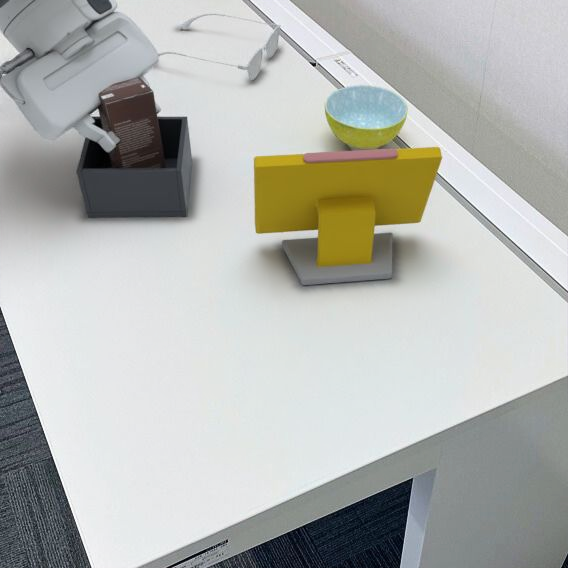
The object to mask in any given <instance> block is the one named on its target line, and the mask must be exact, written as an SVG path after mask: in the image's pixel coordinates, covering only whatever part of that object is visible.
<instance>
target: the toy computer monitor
mask: <svg viewBox="0 0 568 568" xmlns="http://www.w3.org/2000/svg"><path fill="white" fill-rule="evenodd" d="M442 160H443V155H442V151H441V148H440V147H439V146H428V147H410V148H409V147H408V148H378V149H375V150H356V151H353V150H339V151H337V150H336V151H323V152H322V151H320V152H319V151H318V152H306V153H297V154H296V153H295V154H293V153H292V154H277V155H258V156H257V155H256V156H254V157H253V181H254V183H253V190H254V193H253V194H254V230H255V234H259V235H260V234H275V233H276V234H277V233H290V232H304V231H305V232H306V231H317V237H308V238H293V239H292V238H291V239H283V240H281V246H282V249H283V251H284V253H285V254H286V256H287V258H288V261H289V263H290V264H291V266H292V268H293V270H294V272H295V274H296V276H297V277H298V280H299V281H300V284H301V285H303V286H309V285H323V284H334V283H335V284H336V283H347V282H348V283H349V282H360V281H361V282H363V281H372V280H373V281H375V280H387V279H388V280H389V279H392V277H393V237H394V236H393V233H392V232H379V233H375V227H379V226H392V225H408V224H419V223H421V221H422V218H423V216H424V213H425V209H426V206H427V204H428V200H429V198H430V195H431V193H432V190H433V186H434V183H435V180H436V177H437V175H438V172H439V168H440V165H441V163H442Z"/></svg>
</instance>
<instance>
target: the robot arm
mask: <svg viewBox="0 0 568 568" xmlns="http://www.w3.org/2000/svg"><path fill="white" fill-rule="evenodd" d="M118 6H119V5H118V1H117V0H0V32H1V34H2V36H4V38H5V39H6V40H7V41H8V42H9V43H10V44H11V46H12V47H13V48H14V49H15V50H16V51H17V53H18V54H17V55H16V56H14V57H13V58H12V59H10V60H6V61H4V62H3V63H2V64H1V65H0V87H1V88H2V90H3V91H4V92H5V93H6V94H7V95H8V96H9V97H10V99H12V100H13V102H14V104H15V105H16V106H17V108H18V109H19V111H20V112H21V114H22V115H23V117H24V118H25V120H26V121H27V122H28V123H29V125H30V126H31V127H32V128H33V130H34V131H35V132H36V133H37V134H38V136H39V137H41V138H42V139H44V140H48V141H51V142H55V141H56V140H57V139H59V138H60V137H61V136H63V135H64V134H66V133H67V132H68V131H70V130H72V129H73V128H74V130H75V131H76V132H77V133H78V134H79V135H80V136H82V137H84V138H85V137H86V138H88V139H91V140H93V141H95V142H98V143H99V144H100V145H101V147H102V148H103V149H104V150H105V151H106V152H110V151H112V150H113V149H114V148H115V147H116V146H118V145H119V144H120V143H121V141H120V139H119V138H118V137H117V136H116V134H115V133H114V132H113V131H112V130H110V131H109V132H106V131H104V130H102V129H100V128H99V127H97V126H95V125H93V123H94V122H95V120H94V119H93V118H92V117H91V116H92V114H93V113H94V112H96V111H97V110H98V106H99V105H100V104H101V101H100V98H99V95H98V94H99V93H100V92H101V91H103V90H104V89H106V88H107V87H109V86H111V85H112V84H114V83H118V82H122V81H126V80H129V79H133V78H137V77H140V78H141V79H142V80H143V81H144V82H145V83H146V84H147V85H148V86H149V87H150V88H151V86H150V83H149V81H148V80H147V78H146V77H145V76H146V75H147V74H148V73H150V71H151V70H152V69H153V68H155V66H156V65H157V64H158V63H160V62H159V61H160V60H159V59H160V56H159V57H158V54H159V53H158V50H157V49H156V47H155V45H154V44H153V43H152V41H151V40H150V38H148V36H147V35H146V34H145V32H144V31H143V30H142V29H141V28H140V27H139V26H138V25H137V23H136V22H135V21H134V20H133V19H132V18H131V17H129V16H128V15H127V14H125V13H124V12H122V11H116V10H117V8H118ZM155 105H156V111H157V115H158V114H159V113H160V112H161V111H162V109H161V107H160V105H159V104H158V103H157V102H156V101H155Z"/></svg>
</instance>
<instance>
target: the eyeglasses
mask: <svg viewBox="0 0 568 568" xmlns="http://www.w3.org/2000/svg"><path fill="white" fill-rule="evenodd" d="M206 16H219V17H227V18H235V19H239V20H243V21H244V20H245V21H248V22H255V23H259V24H263V25H268V26H271V27H272V28H274V29H273V30H272V32H271V33H270V35H268V38H266V42H265V43H264V44H263V45H262V46H261V47H260V48H258V49H257V50H256V51H255V52H254V54H253V55H252V56H251V57H250V59H249V60H248V61H247V64H245V65H242V64H237V65H236V64H231V63H230V64H229V63H224V62H218V61H213V60H210V59H209V60H208V59H204V58H199V57H195V56H191V55H187V54H183V53H180V52H176V51H164V52H159V53H158V57H159V58H160V57H161V56H164V55H169V54H171V55H177V56H178V55H179V56H182V57H188V58H192V59H195V60H196V59H197V60H200V61H206V62H210V63H215V64H221V65H226V66H231V67H236V68H237V69H239V70H242V71H243V70H244V71H247V75H248V77H249V80H251V81H254V80H256V78H257V77H258V75H259V73H260V71H261V68H262V62H263V53H264V51H265V53H266V55H267V58H268V59H270V58H272V57H274V56H275V54H276V52H277V49H278V44H279V39H280V30H281V25H282V24H277V23H272V24H270V23H266V22H262V21H257V20H252V19H247V18H242V17H238V16H237V17H236V16H232V15H226V14H222V13H204V14H200V15H196V16H194V17H192V18H190V19H188V20H186V21H184V22H183V23H182V24H180V26H179V29H180V30H187V29H189V28H190V26H191V25H192V23H193V22H195V21H196V20H198V19H200V18H203V17H206Z"/></svg>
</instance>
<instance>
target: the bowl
mask: <svg viewBox="0 0 568 568" xmlns="http://www.w3.org/2000/svg"><path fill="white" fill-rule="evenodd" d="M408 109H409V108H408V104H407V102H406V101H405V100H404V99H403V97H402V96H400V95H399V94H397V93H396V92H395V91H393V90H390V89H388V88H385V87H381V86H377V85H370V84H355V85H349V86H344V87H341V88H339V89H337V90H335V91H333V92H332V93H330V94H328V96H327V98H326V99H325V102H324V114H325V118H326V121H327V124H328V126H329V128H330V130H331V132H332V133H333V134H334V135H335V136H336V137H337V138H338V140H339V141H341V142H342V143H344V144H345V145H348V148H349V149H350V150H351V151H356V150H375V149H380V147H383V146H385V145H387V144H389V143H390V142H391V141H393V140H394V139H395V138H396V137H397V136H398V135H399V134H400V132H401V130H402V129H403V127H404V125H405V123H406V119H407V118H408V117H407V116H408V111H409V110H408Z"/></svg>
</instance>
